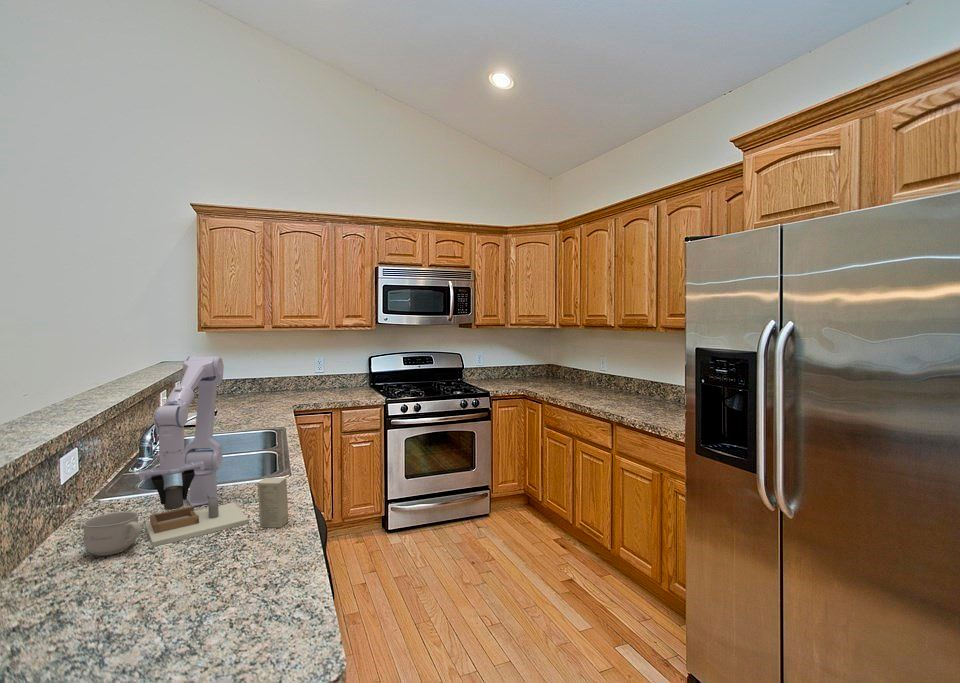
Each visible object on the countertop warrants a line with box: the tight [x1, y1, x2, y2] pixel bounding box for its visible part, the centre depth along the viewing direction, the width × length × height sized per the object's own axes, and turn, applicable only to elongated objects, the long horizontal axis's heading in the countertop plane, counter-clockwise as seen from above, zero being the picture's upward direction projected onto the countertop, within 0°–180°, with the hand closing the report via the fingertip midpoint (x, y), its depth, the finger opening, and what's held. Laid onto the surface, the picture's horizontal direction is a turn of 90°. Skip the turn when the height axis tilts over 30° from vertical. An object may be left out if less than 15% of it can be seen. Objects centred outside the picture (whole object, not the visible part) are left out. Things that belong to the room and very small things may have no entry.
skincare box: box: [257, 477, 289, 529], centre depth 135 cm, size 6×4×12 cm
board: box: [144, 494, 250, 548], centre depth 136 cm, size 16×22×6 cm
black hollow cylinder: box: [163, 485, 185, 511], centre depth 134 cm, size 4×4×5 cm
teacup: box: [82, 510, 142, 557], centre depth 121 cm, size 14×11×8 cm
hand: (173, 501), depth 134 cm, fingers closed on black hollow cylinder, 4 cm apart
